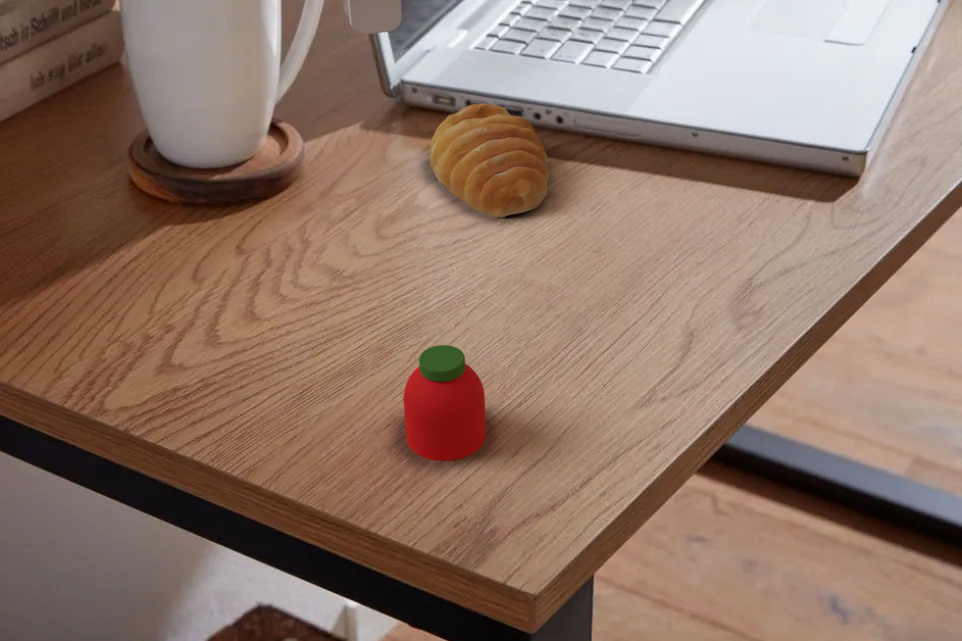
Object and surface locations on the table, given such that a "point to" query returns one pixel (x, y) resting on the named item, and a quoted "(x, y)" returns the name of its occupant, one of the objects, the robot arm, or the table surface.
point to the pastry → (490, 160)
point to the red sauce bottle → (444, 406)
